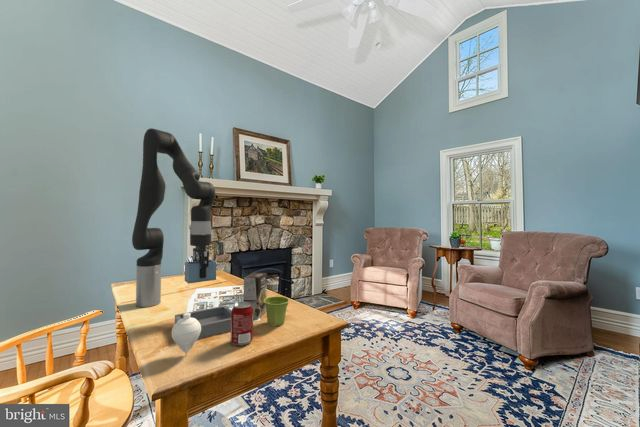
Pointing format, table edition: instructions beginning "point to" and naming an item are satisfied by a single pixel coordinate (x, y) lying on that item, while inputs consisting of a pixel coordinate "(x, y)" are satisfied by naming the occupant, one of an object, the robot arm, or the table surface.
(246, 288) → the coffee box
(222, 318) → the grey shallow tray
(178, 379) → the table surface
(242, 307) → the soda can
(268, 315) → the plant pot
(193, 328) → the spinning top
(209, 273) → the small crate
